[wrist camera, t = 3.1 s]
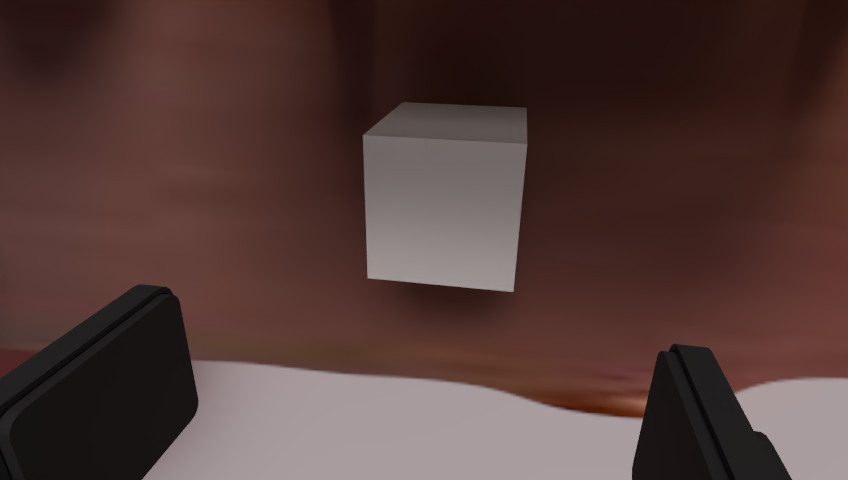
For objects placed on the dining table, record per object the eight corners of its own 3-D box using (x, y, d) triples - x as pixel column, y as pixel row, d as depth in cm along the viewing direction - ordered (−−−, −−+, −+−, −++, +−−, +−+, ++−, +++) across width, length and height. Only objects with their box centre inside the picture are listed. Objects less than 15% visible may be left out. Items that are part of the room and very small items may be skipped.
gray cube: (402, 102, 22) (363, 134, 16) (526, 107, 21) (527, 143, 16) (403, 215, 24) (367, 278, 18) (515, 224, 23) (513, 291, 18)
